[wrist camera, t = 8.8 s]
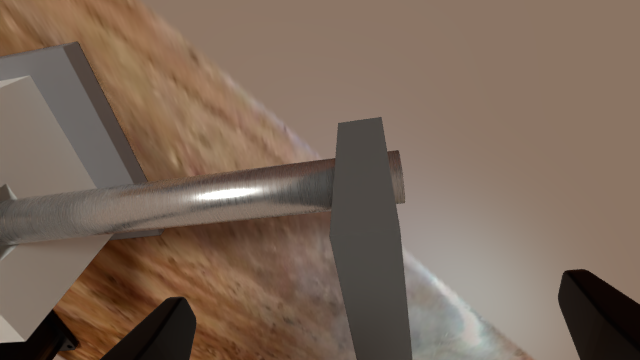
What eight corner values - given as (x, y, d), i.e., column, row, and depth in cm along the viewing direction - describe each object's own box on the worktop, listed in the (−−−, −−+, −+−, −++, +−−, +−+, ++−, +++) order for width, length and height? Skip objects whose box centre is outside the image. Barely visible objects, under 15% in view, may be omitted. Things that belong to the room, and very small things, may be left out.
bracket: (96, 230, 26) (-15, 357, 18) (-13, 59, 20) (-252, 136, 12) (168, 223, 26) (84, 351, 18) (77, 41, 19) (-117, 111, 11)
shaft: (29, 250, 19) (-113, 387, 13) (-36, 166, 17) (-249, 291, 11) (402, 213, 16) (431, 367, 10) (393, 104, 14) (424, 227, 8)
